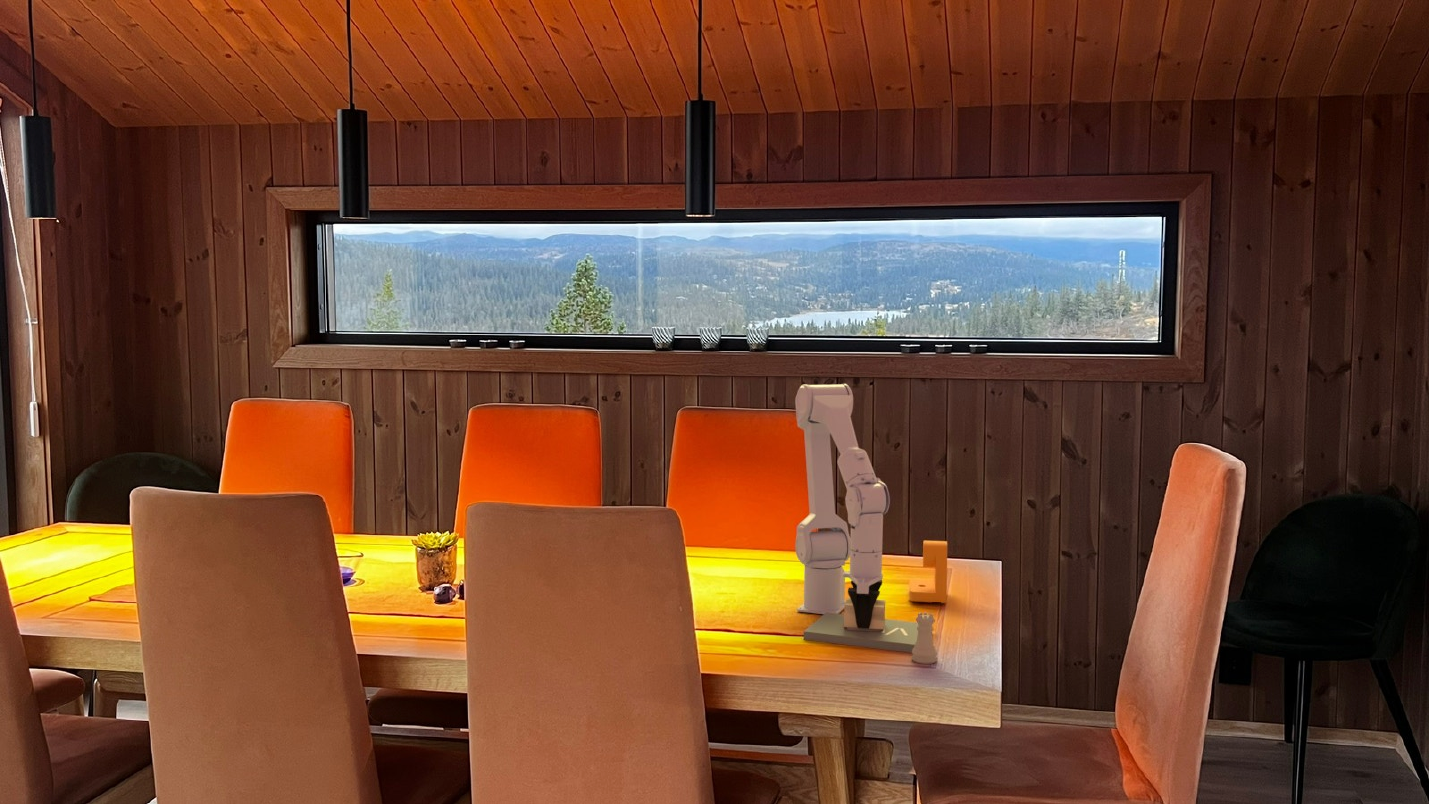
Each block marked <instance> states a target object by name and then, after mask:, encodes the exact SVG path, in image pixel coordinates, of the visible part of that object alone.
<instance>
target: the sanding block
mask: <svg viewBox="0 0 1429 804" xmlns="http://www.w3.org/2000/svg"><path fill="white" fill-rule="evenodd" d="M843 610H844V612H843V614H844V629H847V630H859V631H875V632H881V631H883V630H884V624H885V619H886V600H885V599H877V600H876V602H875V604H874V608H873V613H872V619H871V623H870V627H869V628H858V627H857V624H856V618H855V612H854V607H853V603H852V601H851V598H850V597H846V599H845V605H844V609H843Z"/></svg>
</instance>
